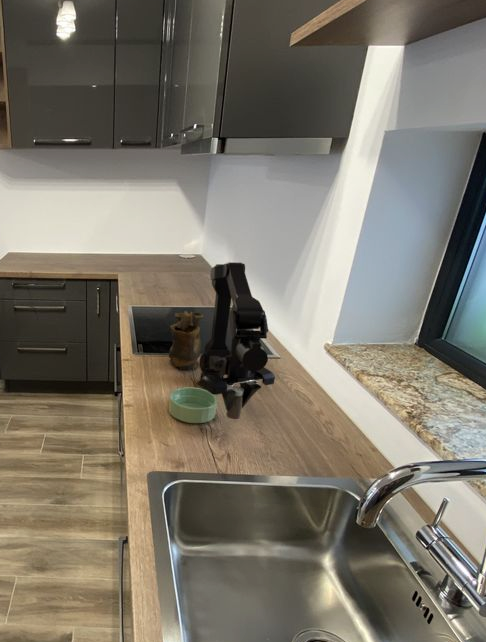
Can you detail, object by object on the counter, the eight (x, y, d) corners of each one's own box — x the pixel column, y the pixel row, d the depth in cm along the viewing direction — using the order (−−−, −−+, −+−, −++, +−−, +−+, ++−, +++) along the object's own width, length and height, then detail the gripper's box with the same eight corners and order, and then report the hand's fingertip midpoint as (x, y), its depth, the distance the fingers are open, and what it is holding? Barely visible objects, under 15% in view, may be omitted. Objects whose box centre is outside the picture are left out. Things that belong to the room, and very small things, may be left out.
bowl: (199, 399, 136) (201, 384, 134) (224, 420, 125) (226, 404, 123) (160, 406, 132) (161, 391, 130) (183, 428, 121) (184, 412, 119)
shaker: (234, 411, 120) (238, 384, 116) (243, 417, 116) (247, 390, 113) (223, 413, 118) (226, 387, 115) (231, 420, 115) (235, 393, 112)
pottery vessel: (196, 381, 147) (201, 324, 139) (163, 377, 150) (166, 321, 142) (201, 353, 169) (206, 303, 161) (173, 350, 172) (177, 300, 164)
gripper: (252, 339, 120) (244, 390, 127) (192, 347, 114) (187, 400, 121) (280, 353, 111) (271, 408, 117) (216, 364, 105) (210, 421, 111)
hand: (234, 409), depth 117 cm, fingers closed on shaker, 3 cm apart
